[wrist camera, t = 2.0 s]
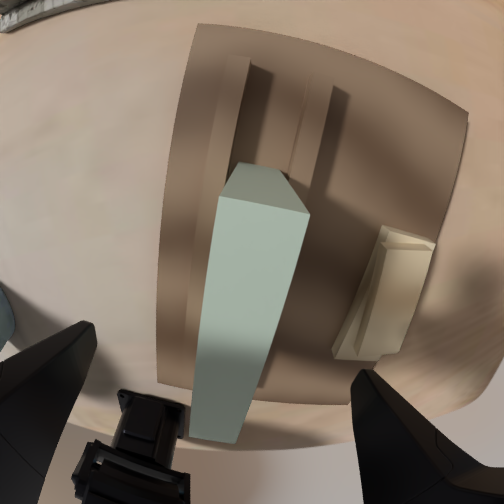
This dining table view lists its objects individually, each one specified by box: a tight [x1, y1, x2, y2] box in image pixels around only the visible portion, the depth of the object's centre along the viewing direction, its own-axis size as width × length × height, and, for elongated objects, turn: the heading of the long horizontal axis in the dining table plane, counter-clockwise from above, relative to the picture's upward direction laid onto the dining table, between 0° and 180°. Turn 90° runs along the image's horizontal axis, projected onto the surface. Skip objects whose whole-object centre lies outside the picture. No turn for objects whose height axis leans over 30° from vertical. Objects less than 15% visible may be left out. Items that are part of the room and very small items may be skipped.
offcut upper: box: [353, 242, 433, 357], centre depth 15 cm, size 7×3×1 cm, turn 179°
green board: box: [189, 162, 310, 444], centre depth 12 cm, size 10×2×8 cm, turn 169°
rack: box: [156, 23, 469, 405], centre depth 15 cm, size 24×16×2 cm, turn 169°
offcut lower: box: [331, 225, 436, 361], centre depth 16 cm, size 9×4×1 cm, turn 169°
